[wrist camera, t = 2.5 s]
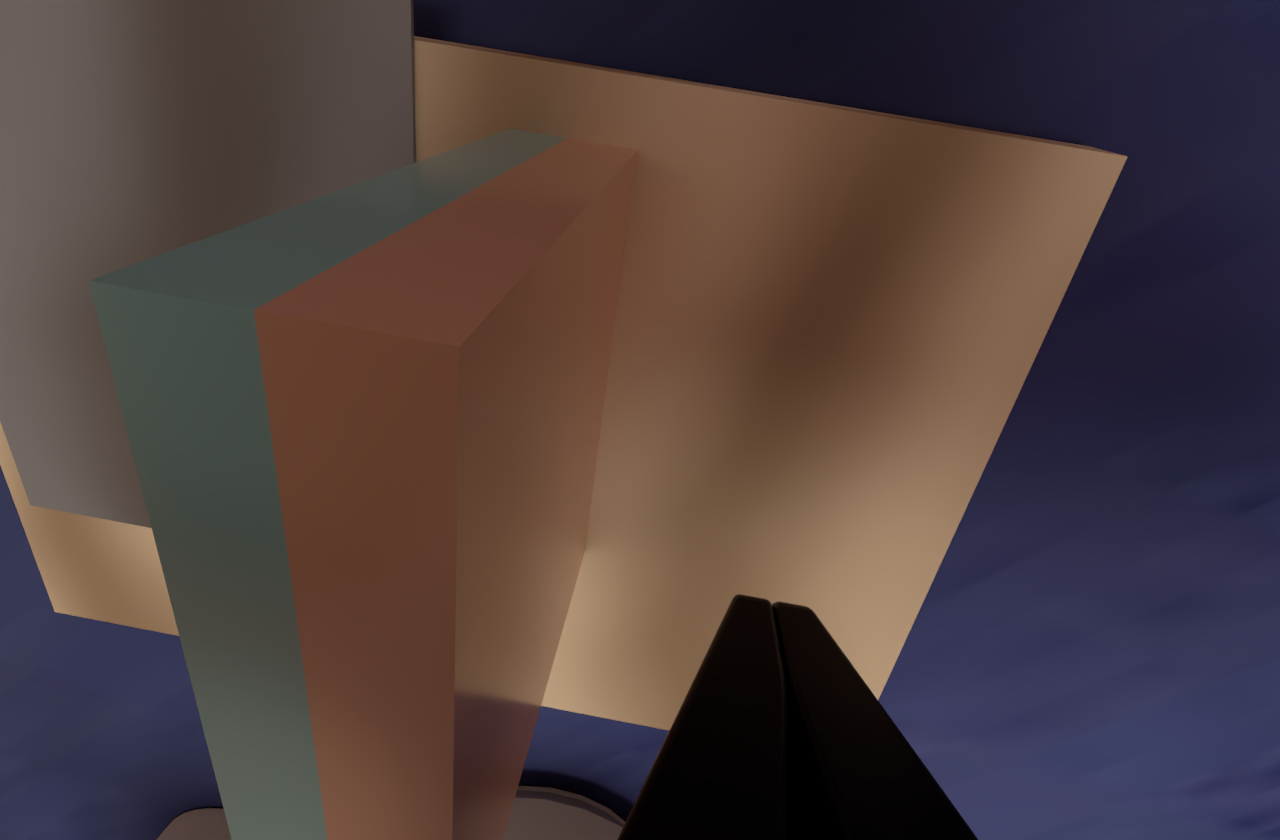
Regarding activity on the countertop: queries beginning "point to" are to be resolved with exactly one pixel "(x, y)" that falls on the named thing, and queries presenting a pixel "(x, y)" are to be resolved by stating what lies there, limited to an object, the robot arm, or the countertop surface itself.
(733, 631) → the robot arm
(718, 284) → the board
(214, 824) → the coffee cup
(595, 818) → the can
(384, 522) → the tile
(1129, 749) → the countertop surface
